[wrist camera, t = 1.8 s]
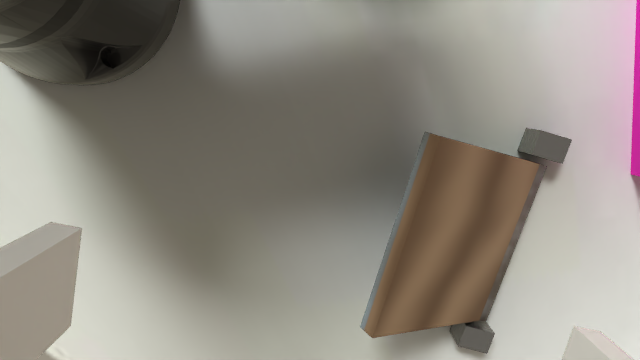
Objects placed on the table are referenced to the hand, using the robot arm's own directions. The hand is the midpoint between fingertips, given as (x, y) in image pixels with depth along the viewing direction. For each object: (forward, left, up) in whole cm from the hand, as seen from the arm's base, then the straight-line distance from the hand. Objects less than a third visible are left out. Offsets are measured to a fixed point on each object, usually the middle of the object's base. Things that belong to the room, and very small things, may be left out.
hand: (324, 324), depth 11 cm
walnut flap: (+16, -1, -22) cm, 27 cm away
